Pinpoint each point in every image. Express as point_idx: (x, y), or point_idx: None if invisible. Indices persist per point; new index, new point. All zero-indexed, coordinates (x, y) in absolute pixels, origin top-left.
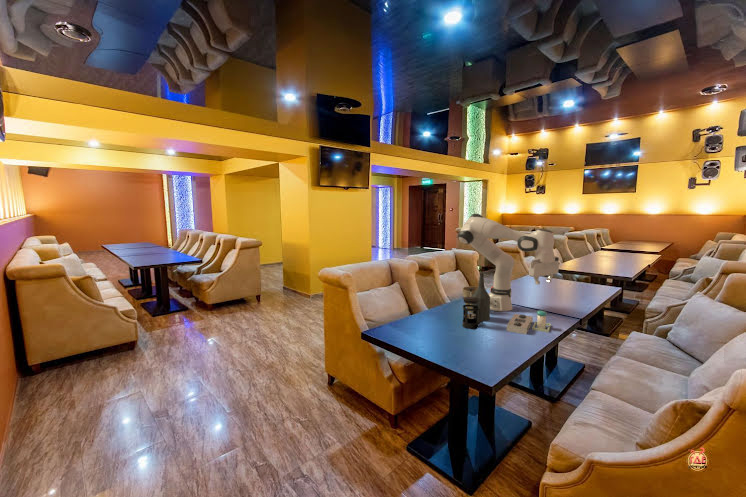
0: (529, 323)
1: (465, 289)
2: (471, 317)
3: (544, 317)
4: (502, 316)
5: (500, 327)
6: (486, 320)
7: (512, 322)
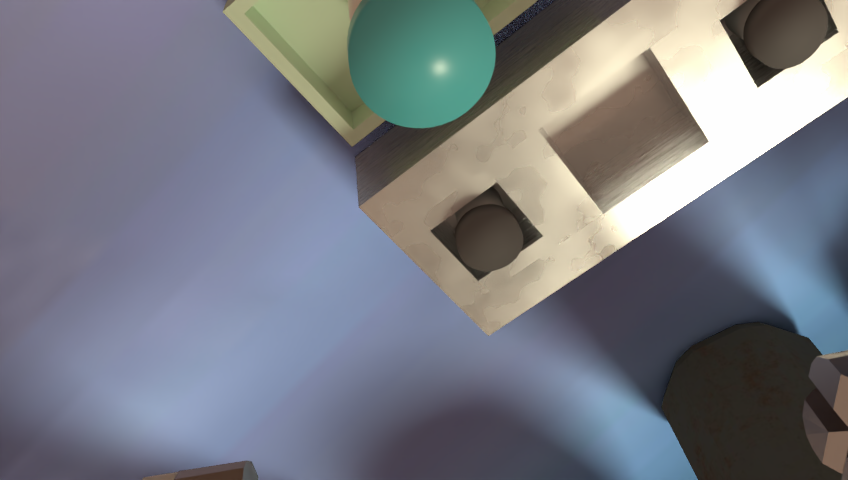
0: (590, 25)
1: None
2: None
3: None
4: (463, 418)
5: (732, 191)
6: (762, 334)
7: (768, 108)
